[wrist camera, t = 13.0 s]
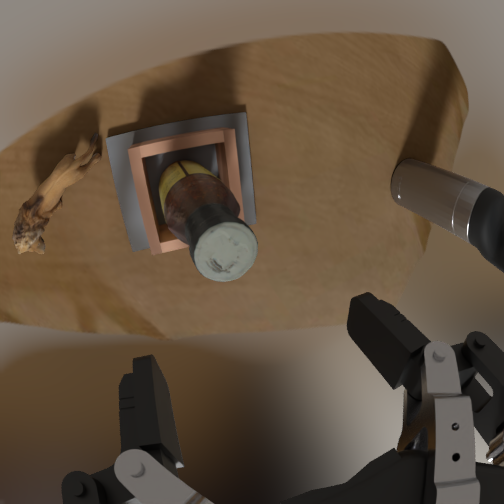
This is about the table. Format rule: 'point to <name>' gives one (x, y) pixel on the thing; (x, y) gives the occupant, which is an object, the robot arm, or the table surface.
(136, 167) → the bottle holder
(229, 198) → the sauce bottle
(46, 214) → the lion figurine
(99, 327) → the table surface
